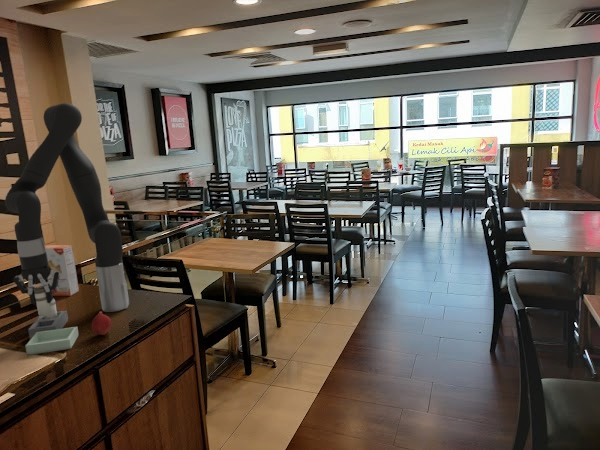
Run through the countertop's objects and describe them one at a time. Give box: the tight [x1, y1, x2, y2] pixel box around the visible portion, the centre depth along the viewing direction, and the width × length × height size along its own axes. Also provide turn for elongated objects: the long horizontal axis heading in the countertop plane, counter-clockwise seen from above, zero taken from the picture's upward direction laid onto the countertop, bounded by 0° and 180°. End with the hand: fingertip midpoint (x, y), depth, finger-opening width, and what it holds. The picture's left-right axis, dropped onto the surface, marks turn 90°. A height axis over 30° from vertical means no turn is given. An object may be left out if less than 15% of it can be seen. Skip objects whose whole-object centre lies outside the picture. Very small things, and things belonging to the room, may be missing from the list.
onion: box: [91, 311, 113, 336], centre depth 141 cm, size 6×6×8 cm
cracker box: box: [38, 244, 80, 297], centre depth 184 cm, size 14×6×21 cm, turn 81°
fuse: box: [45, 298, 58, 319], centre depth 152 cm, size 4×4×9 cm
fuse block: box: [28, 310, 69, 341], centre depth 149 cm, size 8×14×4 cm, turn 14°
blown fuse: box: [33, 285, 51, 317], centre depth 144 cm, size 4×4×9 cm
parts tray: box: [25, 326, 80, 356], centre depth 137 cm, size 12×10×3 cm
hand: (42, 302), depth 144 cm, fingers closed on blown fuse, 3 cm apart
